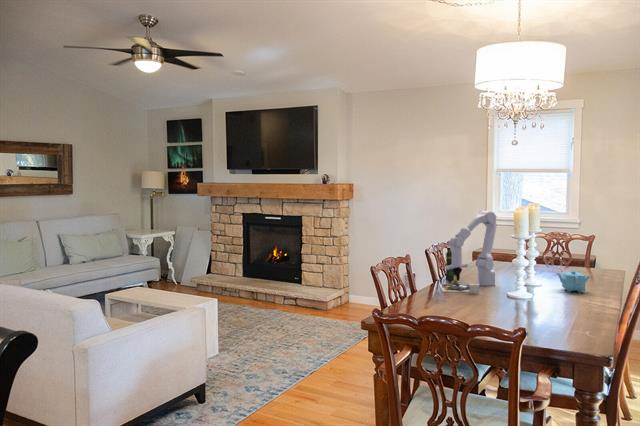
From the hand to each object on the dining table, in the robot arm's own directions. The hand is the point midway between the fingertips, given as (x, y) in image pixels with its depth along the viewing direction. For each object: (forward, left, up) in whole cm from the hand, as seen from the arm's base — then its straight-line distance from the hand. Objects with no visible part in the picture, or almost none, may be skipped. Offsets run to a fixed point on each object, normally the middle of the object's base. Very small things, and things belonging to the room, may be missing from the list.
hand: (456, 280), depth 304 cm
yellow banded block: (-6, +17, -4) cm, 19 cm away
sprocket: (+1, +5, -4) cm, 7 cm away
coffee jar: (-1, -24, -4) cm, 24 cm away
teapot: (-61, +9, -4) cm, 62 cm away
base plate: (+1, +5, -4) cm, 7 cm away
